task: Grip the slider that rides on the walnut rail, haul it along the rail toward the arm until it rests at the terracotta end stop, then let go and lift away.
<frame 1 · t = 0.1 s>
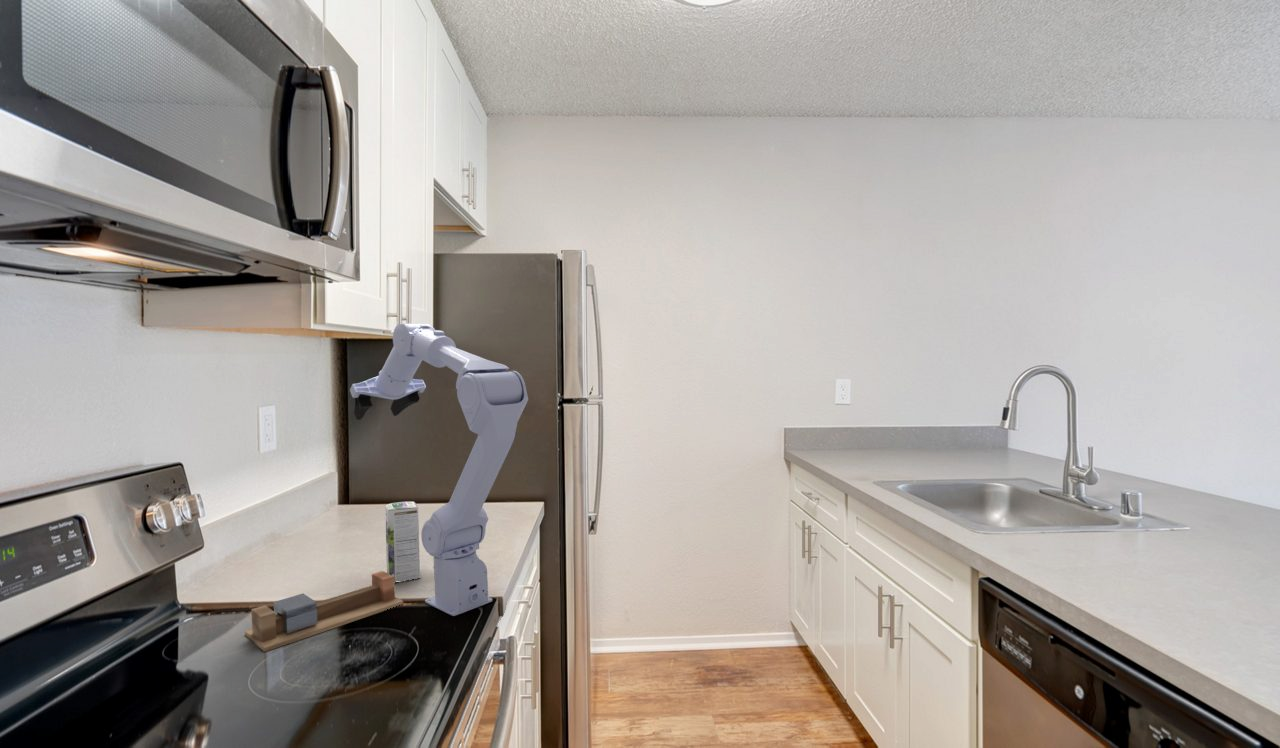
hand: (375, 413, 126), 32 cm above the worktop, tool tilted 50°, fingers open, 7 cm apart
slider: (295, 612, 100), point 3 cm above the worktop, slide at 11.0 cm
rail: (328, 618, 104), on the worktop
syrup box: (403, 578, 122), on the worktop
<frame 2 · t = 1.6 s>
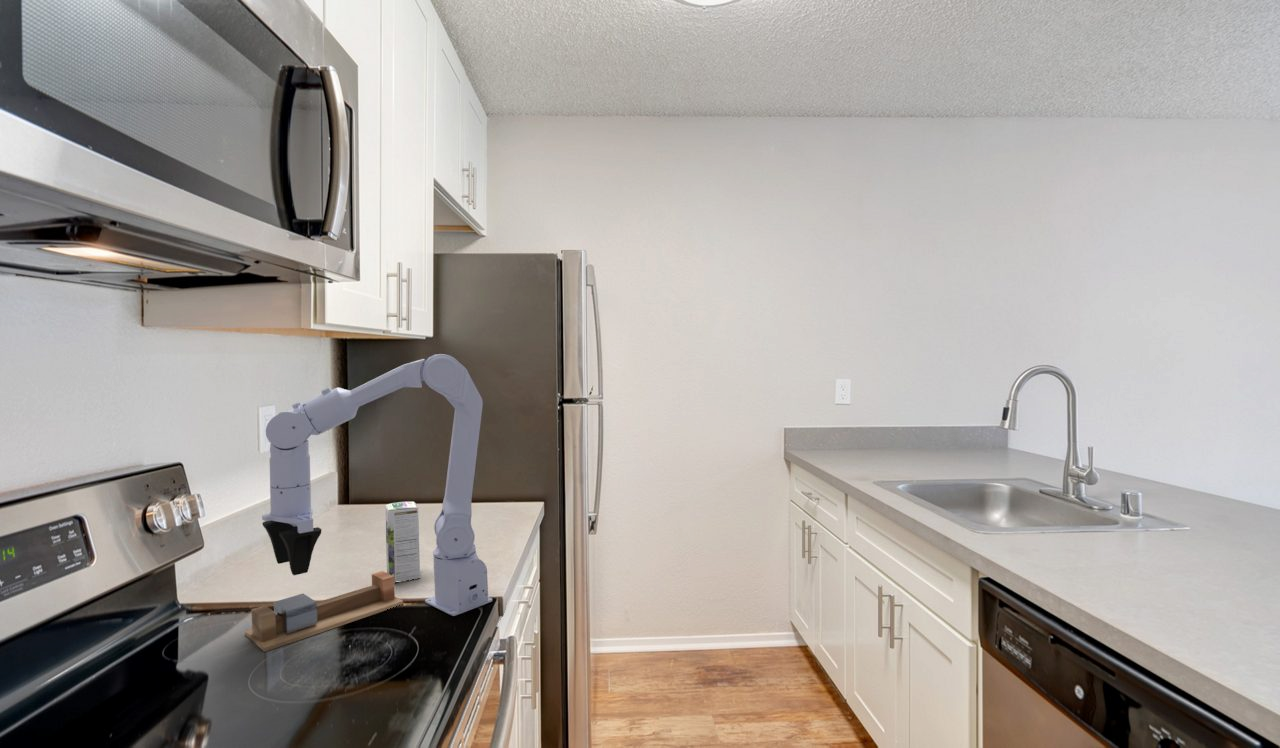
hand: (292, 567, 100), 10 cm above the worktop, tool pointing down, fingers open, 7 cm apart
nothing on the worktop moved.
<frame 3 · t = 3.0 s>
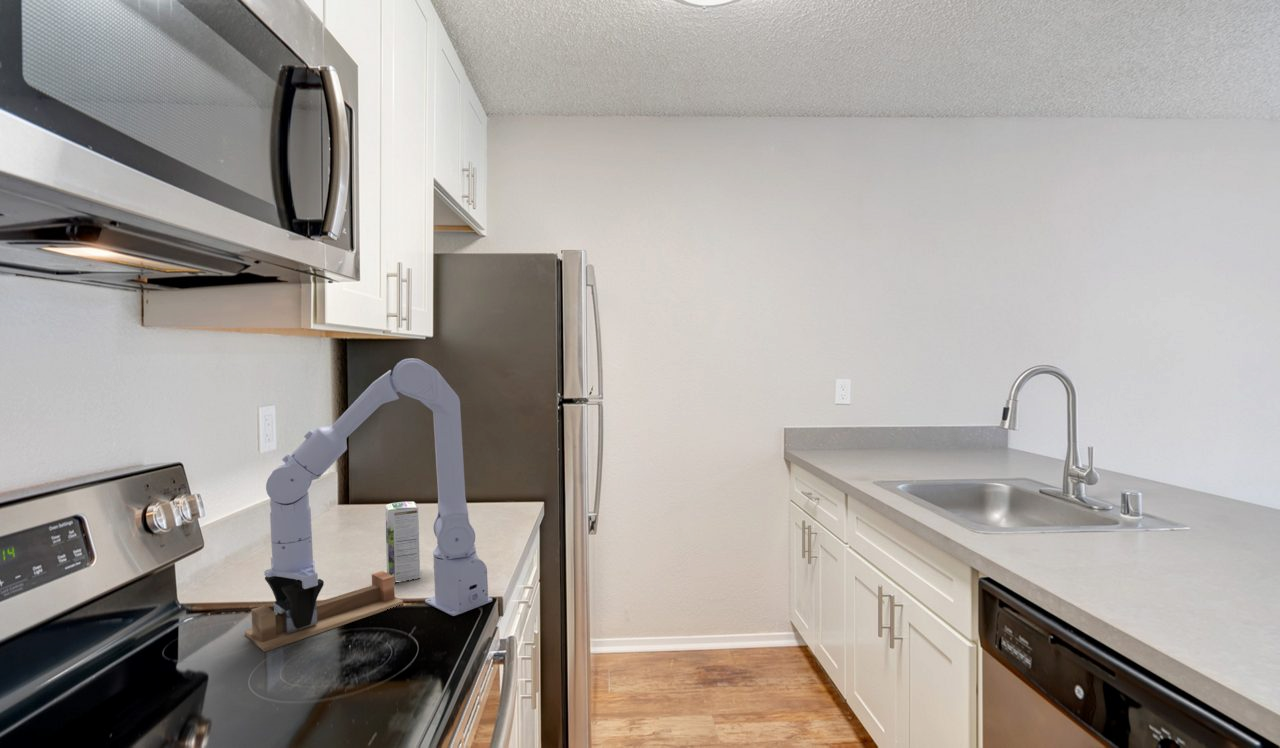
hand: (295, 620, 100), 1 cm above the worktop, tool pointing down, fingers closed on slider, 6 cm apart
slider: (295, 612, 100), point 3 cm above the worktop, slide at 11.0 cm, touching gripper
everything else where it was.
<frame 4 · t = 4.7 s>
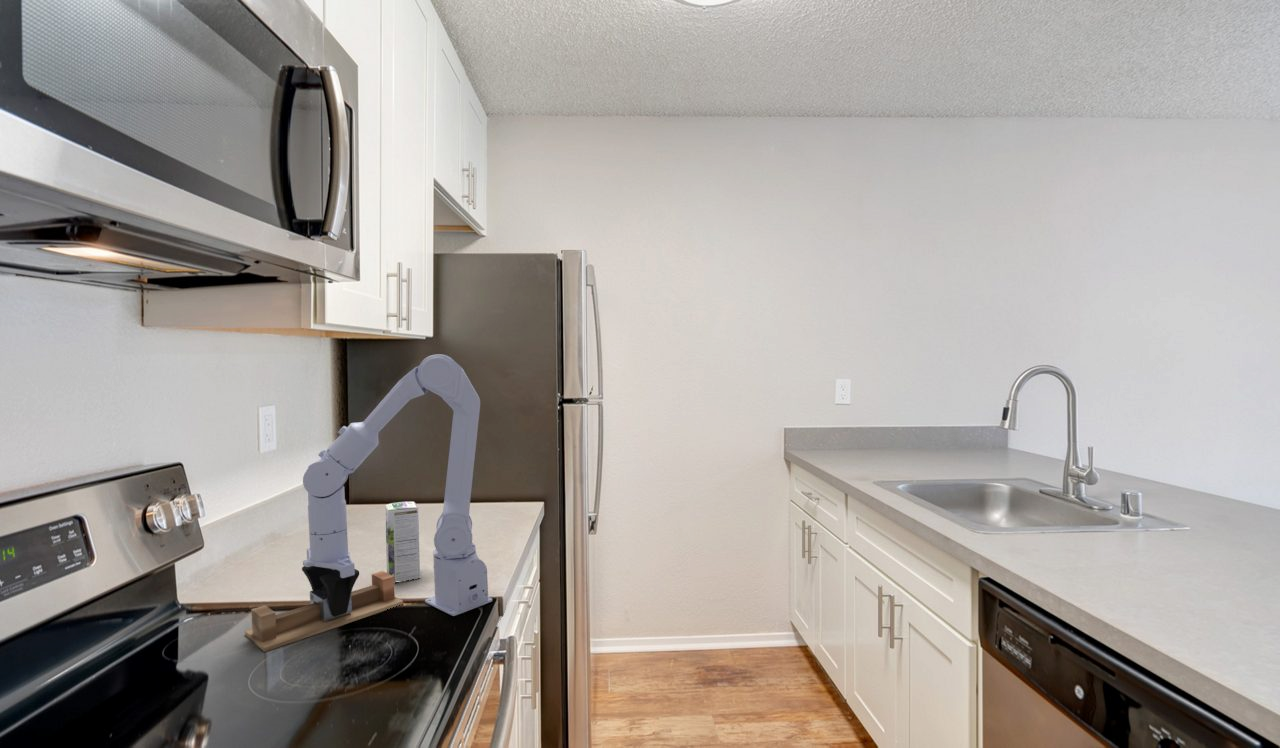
hand: (331, 609, 104), 1 cm above the worktop, tool pointing down, fingers closed on slider, 6 cm apart
slider: (330, 601, 104), point 3 cm above the worktop, slide at 5.5 cm, touching gripper
everything else where it was.
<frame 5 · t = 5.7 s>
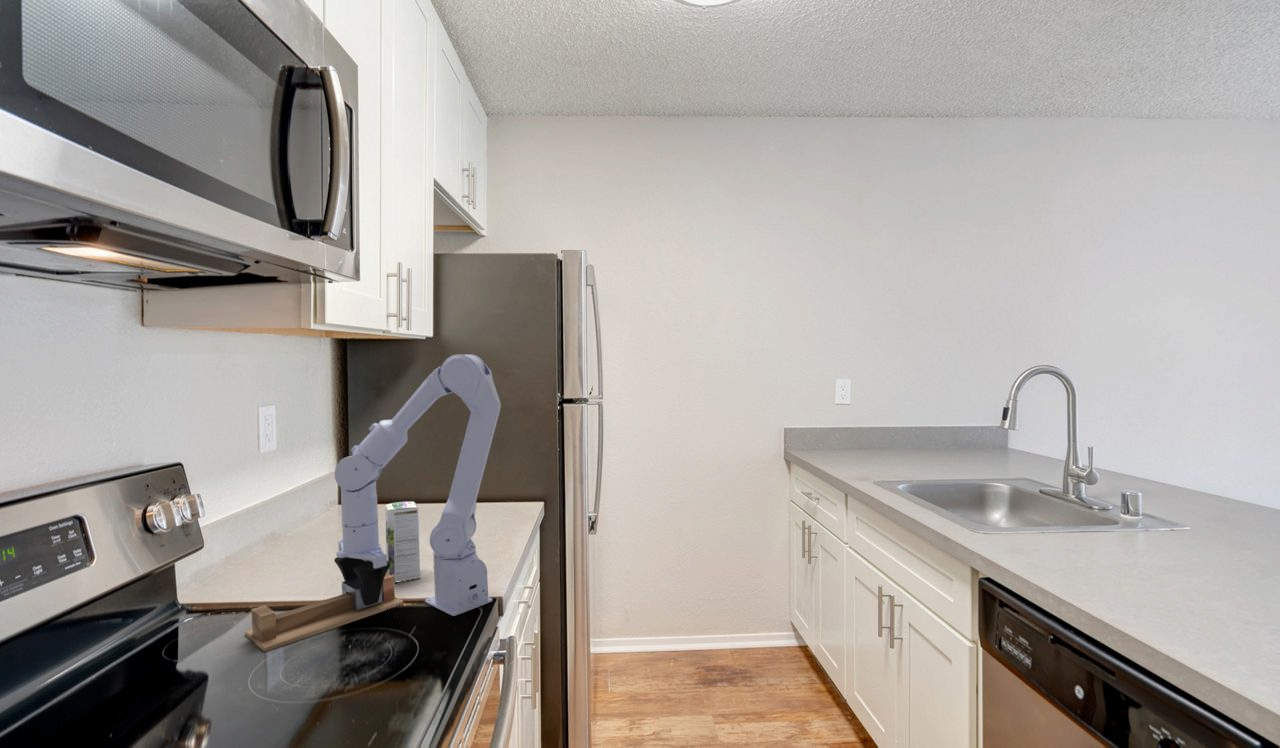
hand: (363, 599, 108), 1 cm above the worktop, tool pointing down, fingers closed on slider, 6 cm apart
slider: (362, 592, 108), point 3 cm above the worktop, slide at 0.2 cm, touching gripper
everything else where it was.
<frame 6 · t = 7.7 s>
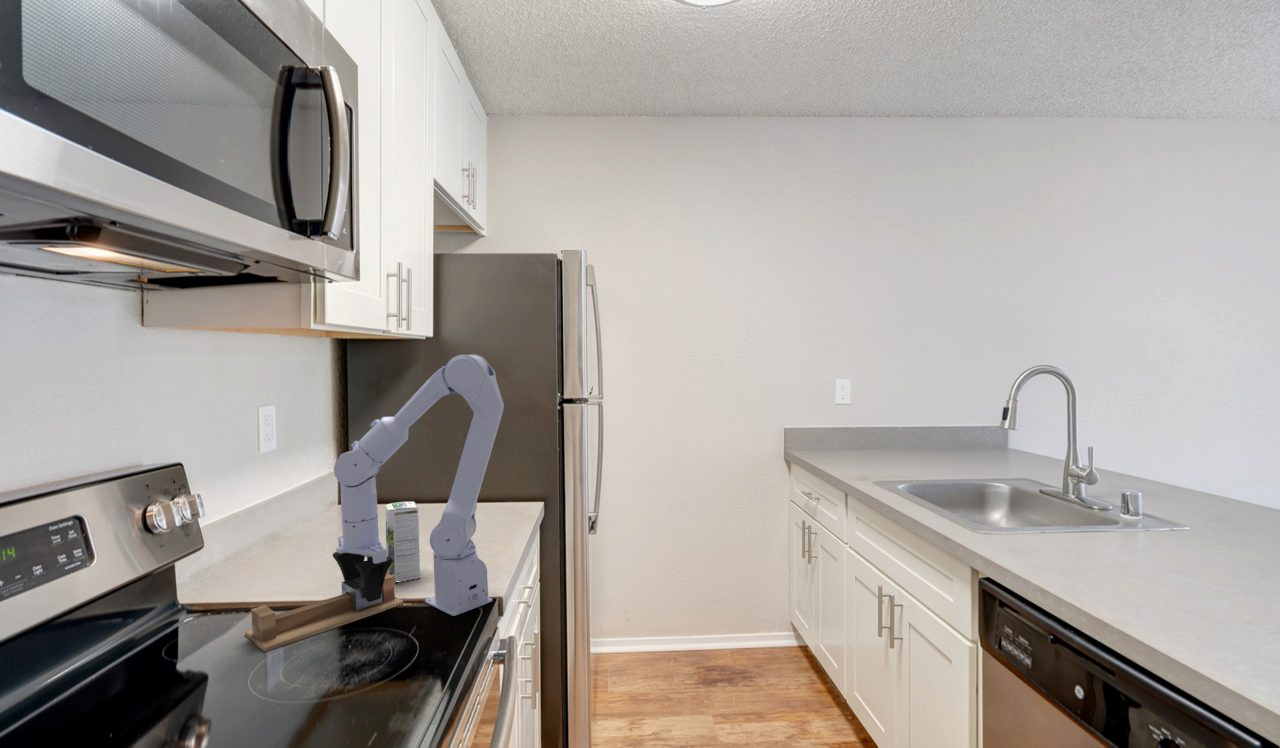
hand: (363, 594, 108), 2 cm above the worktop, tool pointing down, fingers open, 7 cm apart
slider: (361, 592, 108), point 3 cm above the worktop, slide at 0.2 cm
everything else where it was.
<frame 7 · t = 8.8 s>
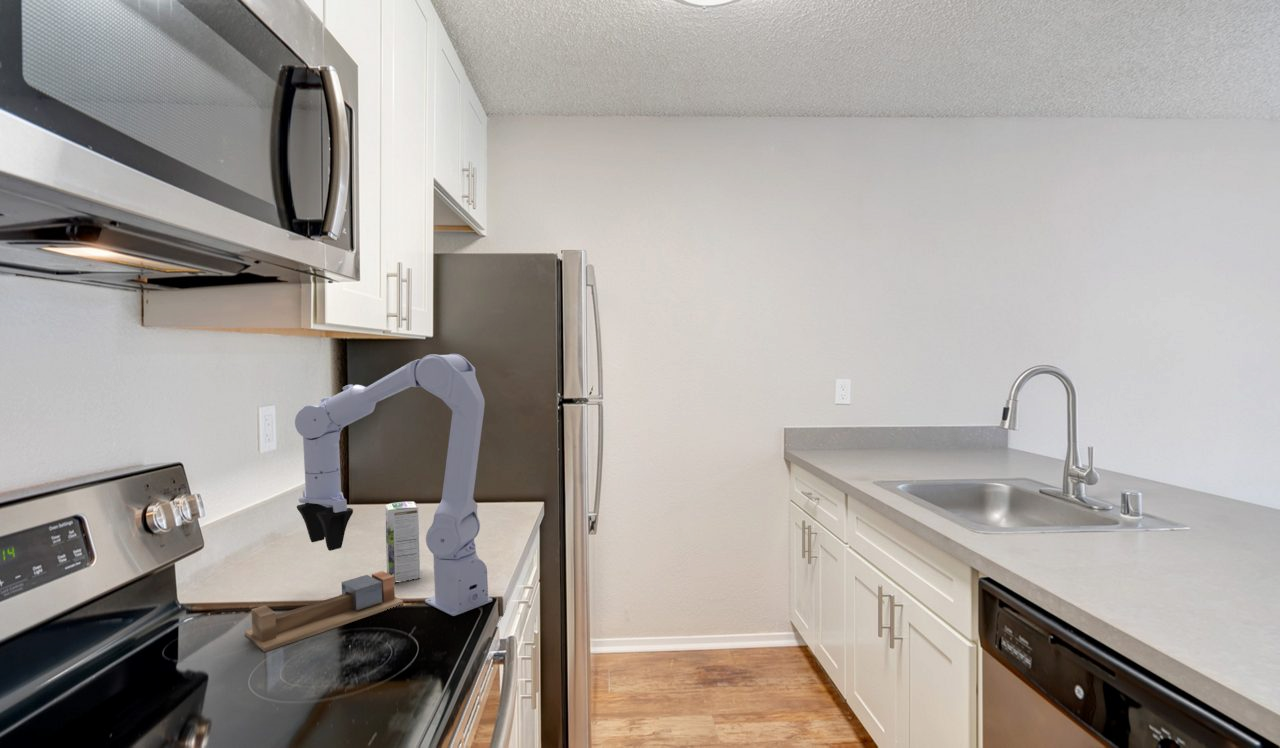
hand: (326, 544, 112), 10 cm above the worktop, tool pointing down, fingers open, 7 cm apart
nothing on the worktop moved.
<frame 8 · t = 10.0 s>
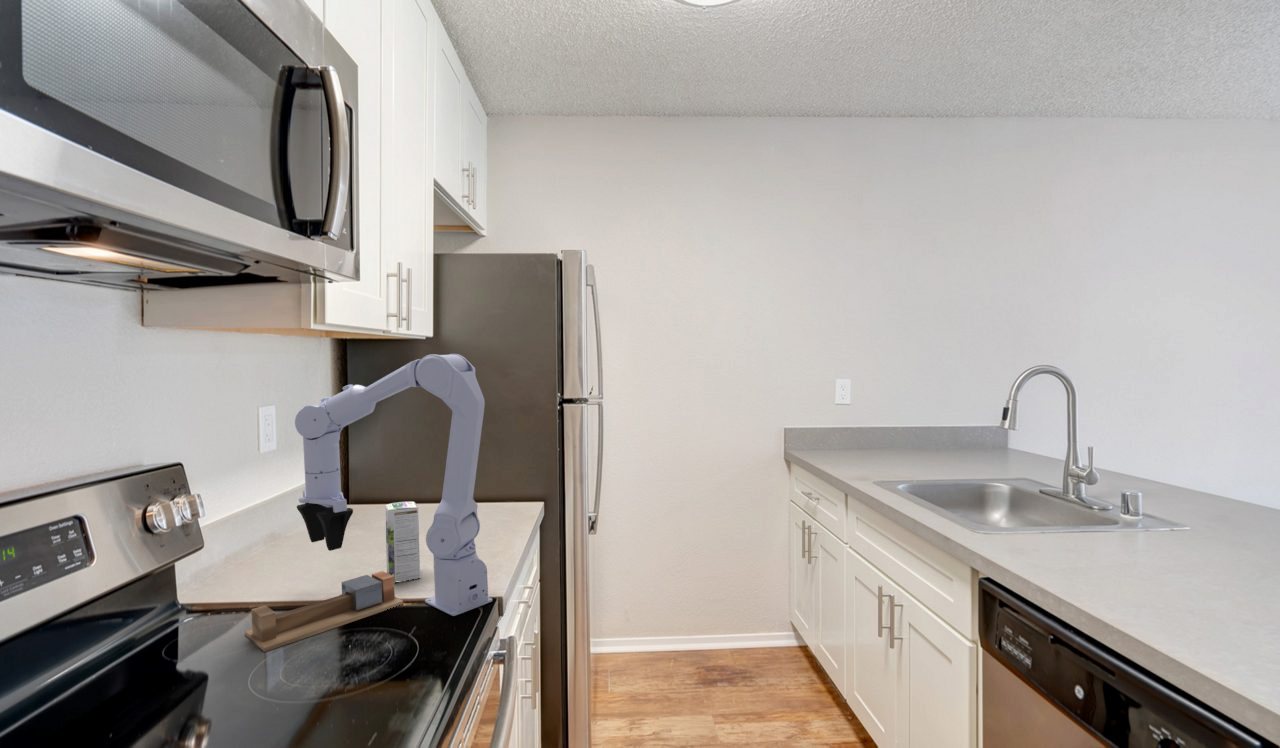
hand: (326, 544, 112), 10 cm above the worktop, tool pointing down, fingers open, 7 cm apart
nothing on the worktop moved.
at the end: slider slide at 0.2 cm; the gripper is holding nothing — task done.
